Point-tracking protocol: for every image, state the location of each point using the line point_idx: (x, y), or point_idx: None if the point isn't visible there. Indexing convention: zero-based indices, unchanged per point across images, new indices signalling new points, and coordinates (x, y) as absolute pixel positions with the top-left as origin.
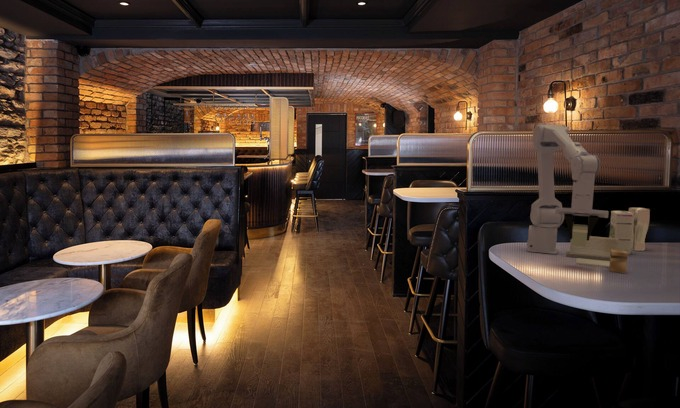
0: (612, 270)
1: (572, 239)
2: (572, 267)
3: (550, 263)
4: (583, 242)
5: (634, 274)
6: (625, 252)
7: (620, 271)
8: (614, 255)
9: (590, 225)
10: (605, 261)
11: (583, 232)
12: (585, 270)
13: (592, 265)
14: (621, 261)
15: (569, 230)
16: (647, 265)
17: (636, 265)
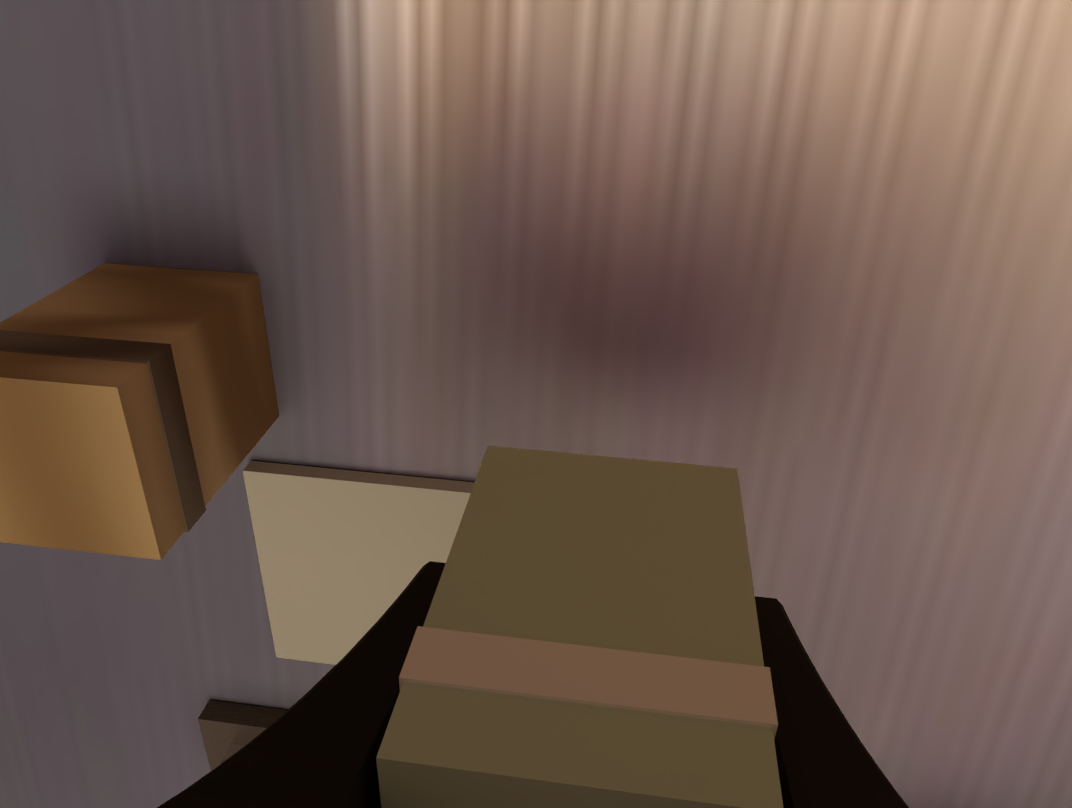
0: (228, 278)
1: (736, 541)
2: (681, 306)
3: (940, 416)
4: (525, 492)
5: (19, 249)
6: None
7: (148, 273)
8: (112, 361)
9: (288, 799)
10: (322, 645)
11: (505, 641)
12: (532, 204)
13: (445, 481)
14: (69, 321)
15: (839, 725)
16: (4, 660)
17: (77, 633)
